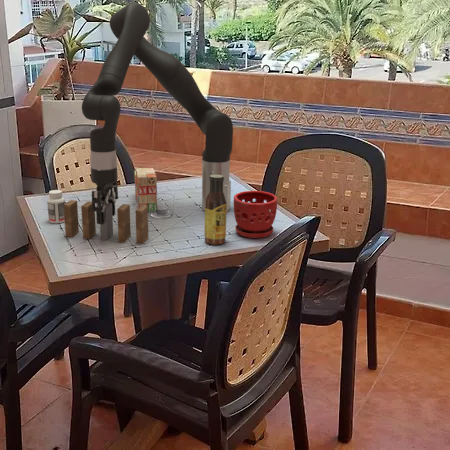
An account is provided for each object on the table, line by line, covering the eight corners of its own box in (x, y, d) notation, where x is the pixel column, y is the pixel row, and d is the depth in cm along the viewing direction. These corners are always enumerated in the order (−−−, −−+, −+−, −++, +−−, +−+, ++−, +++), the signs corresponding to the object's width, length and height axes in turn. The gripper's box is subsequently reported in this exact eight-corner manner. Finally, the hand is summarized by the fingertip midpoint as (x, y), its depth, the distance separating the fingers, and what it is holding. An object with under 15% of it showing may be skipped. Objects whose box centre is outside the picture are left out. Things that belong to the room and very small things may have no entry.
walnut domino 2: (96, 233, 197) (94, 201, 194) (89, 239, 192) (87, 206, 189) (89, 233, 197) (88, 201, 194) (83, 238, 193) (81, 206, 190)
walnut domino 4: (148, 238, 194) (147, 205, 191) (143, 243, 189) (142, 210, 186) (141, 237, 194) (141, 205, 191) (136, 243, 190) (135, 210, 186)
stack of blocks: (134, 195, 239) (133, 162, 235) (152, 194, 240) (151, 161, 236) (138, 212, 219) (137, 176, 215) (157, 211, 220) (156, 176, 216)
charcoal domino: (100, 240, 192) (99, 207, 189) (107, 234, 196) (105, 202, 193) (107, 240, 191) (105, 207, 188) (113, 235, 196) (112, 203, 193)
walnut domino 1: (78, 232, 198) (77, 200, 195) (72, 237, 193) (70, 205, 190) (72, 231, 198) (70, 200, 195) (65, 237, 194) (63, 204, 191)
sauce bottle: (218, 247, 187) (219, 179, 181) (200, 243, 190) (200, 176, 184) (230, 240, 193) (231, 175, 186) (212, 236, 196) (213, 172, 190)
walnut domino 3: (130, 236, 195) (129, 204, 192) (124, 242, 190) (123, 209, 187) (124, 236, 195) (123, 204, 192) (118, 241, 191) (117, 208, 187)
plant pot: (224, 232, 200) (224, 194, 196) (257, 224, 208) (258, 188, 204) (251, 244, 190) (252, 204, 186) (284, 235, 198) (286, 197, 194)
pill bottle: (65, 218, 211) (63, 188, 208) (67, 222, 206) (65, 193, 203) (47, 219, 209) (45, 190, 206) (49, 224, 205) (47, 194, 202)
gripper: (100, 159, 194) (103, 211, 199) (81, 170, 181) (84, 226, 186) (124, 161, 193) (126, 213, 198) (107, 172, 180) (109, 228, 185)
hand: (106, 219), depth 192 cm, fingers open, 8 cm apart
